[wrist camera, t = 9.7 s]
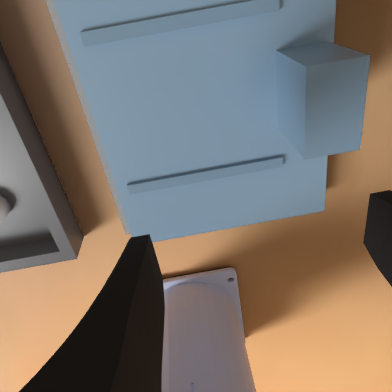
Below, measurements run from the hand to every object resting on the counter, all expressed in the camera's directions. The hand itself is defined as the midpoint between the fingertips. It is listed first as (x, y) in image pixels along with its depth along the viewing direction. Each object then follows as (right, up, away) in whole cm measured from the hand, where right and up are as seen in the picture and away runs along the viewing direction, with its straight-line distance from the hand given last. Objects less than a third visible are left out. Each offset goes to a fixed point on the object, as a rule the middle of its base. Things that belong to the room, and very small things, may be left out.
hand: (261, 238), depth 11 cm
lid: (-1, +7, +7) cm, 10 cm away
